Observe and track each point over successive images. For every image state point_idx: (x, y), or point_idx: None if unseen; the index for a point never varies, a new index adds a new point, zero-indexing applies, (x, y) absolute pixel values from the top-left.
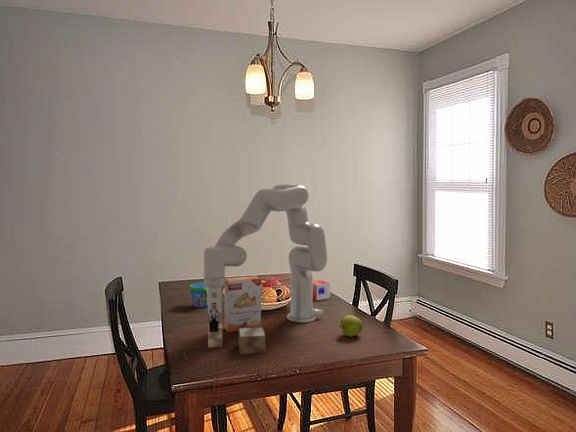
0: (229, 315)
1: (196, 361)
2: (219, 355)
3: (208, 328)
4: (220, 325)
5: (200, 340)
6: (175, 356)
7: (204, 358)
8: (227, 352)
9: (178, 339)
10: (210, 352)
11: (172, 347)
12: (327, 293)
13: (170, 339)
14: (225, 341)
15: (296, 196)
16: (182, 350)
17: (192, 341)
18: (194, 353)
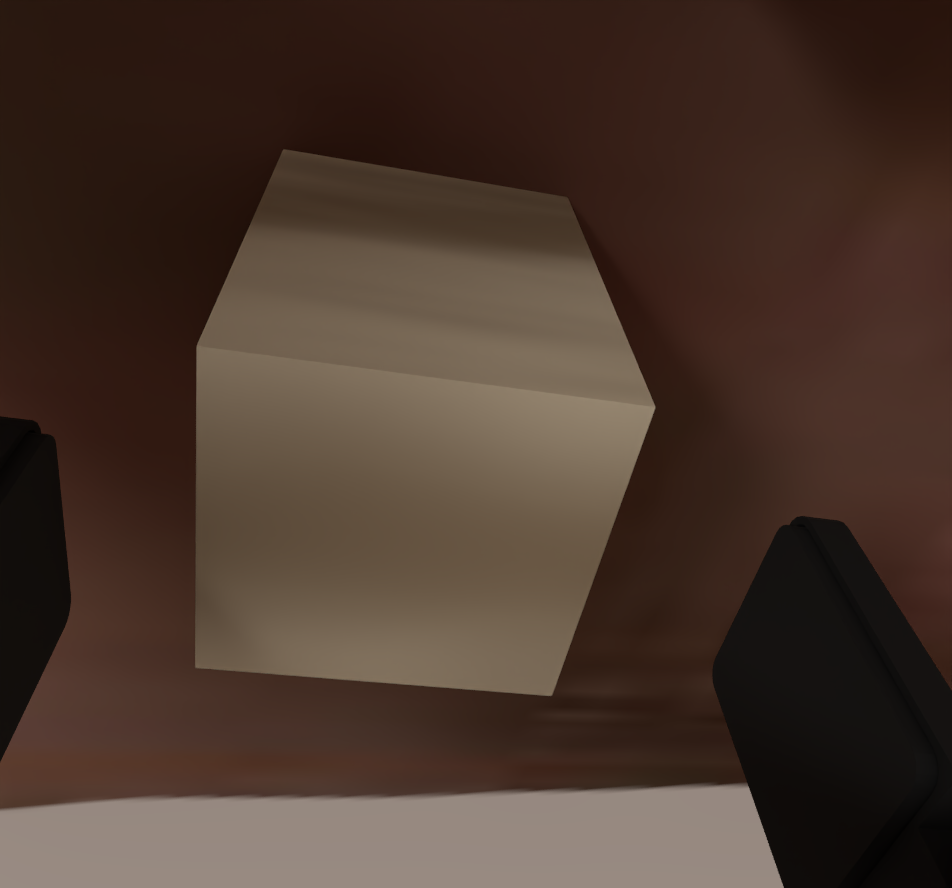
0: None
1: (948, 603)
2: (949, 313)
3: (551, 690)
4: (397, 417)
5: (150, 500)
6: (664, 763)
7: (917, 517)
8: (908, 153)
9: (73, 731)
10: (745, 422)
11: (365, 781)
12: None
13: (66, 795)
14: (283, 70)
15: None
16: (505, 707)
17: (181, 598)
18: (672, 605)
